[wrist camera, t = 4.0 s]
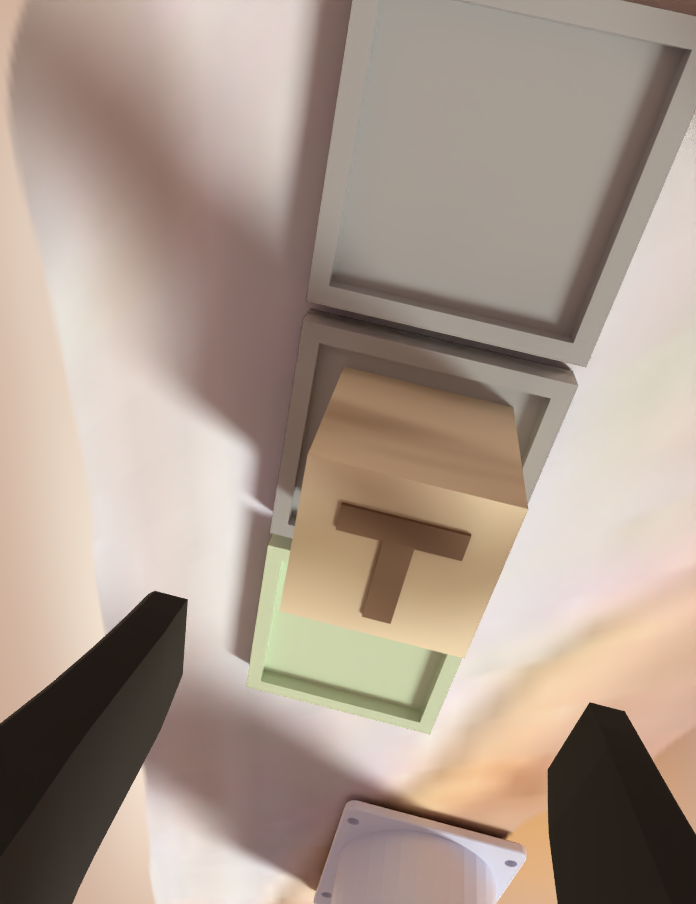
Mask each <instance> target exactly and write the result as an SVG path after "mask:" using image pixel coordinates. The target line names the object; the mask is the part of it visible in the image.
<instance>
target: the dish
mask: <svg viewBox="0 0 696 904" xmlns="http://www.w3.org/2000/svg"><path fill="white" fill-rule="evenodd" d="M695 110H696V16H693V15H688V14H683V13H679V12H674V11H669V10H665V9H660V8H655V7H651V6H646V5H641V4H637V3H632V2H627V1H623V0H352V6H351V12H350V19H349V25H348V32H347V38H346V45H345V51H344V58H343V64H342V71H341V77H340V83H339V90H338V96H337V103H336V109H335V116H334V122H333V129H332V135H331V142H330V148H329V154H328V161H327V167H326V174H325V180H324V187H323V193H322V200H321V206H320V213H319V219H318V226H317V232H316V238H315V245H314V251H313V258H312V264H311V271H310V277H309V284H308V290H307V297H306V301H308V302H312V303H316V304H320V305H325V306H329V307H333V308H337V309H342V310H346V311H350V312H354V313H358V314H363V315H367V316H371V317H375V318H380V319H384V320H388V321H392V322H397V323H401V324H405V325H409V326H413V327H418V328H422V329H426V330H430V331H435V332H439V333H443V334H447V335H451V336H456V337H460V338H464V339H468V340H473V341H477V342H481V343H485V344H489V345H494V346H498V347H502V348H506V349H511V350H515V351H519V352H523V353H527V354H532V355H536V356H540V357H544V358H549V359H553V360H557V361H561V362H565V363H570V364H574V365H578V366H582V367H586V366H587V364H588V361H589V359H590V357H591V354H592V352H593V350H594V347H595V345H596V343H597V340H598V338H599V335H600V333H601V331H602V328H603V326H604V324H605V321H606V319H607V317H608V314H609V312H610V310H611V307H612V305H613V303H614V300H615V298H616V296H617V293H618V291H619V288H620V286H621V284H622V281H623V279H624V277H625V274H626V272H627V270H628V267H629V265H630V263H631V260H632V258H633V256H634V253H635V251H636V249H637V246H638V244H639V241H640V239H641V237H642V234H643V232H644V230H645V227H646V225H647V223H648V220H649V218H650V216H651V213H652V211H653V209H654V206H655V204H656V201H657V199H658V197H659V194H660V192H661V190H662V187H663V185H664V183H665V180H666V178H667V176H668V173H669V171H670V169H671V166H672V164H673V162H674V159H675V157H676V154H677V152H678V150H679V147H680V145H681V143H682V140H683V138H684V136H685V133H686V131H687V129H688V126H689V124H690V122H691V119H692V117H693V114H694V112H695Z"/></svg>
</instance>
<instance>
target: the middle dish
mask: <svg viewBox="0 0 696 904" xmlns="http://www.w3.org/2000/svg"><path fill="white" fill-rule="evenodd" d="M344 367H348V368H352V369H356V370H360V371H364V372H369V373H373V374H377V375H381V376H385V377H389V378H394V379H398V380H402V381H406V382H410V383H414V384H418V385H423V386H427V387H431V388H435V389H439V390H443V391H448V392H452V393H456V394H460V395H464V396H468V397H473V398H477V399H481V400H485V401H489V402H493V403H498V404H502V405H506V406H510V407H513V408H514V415H515V422H516V429H517V436H518V442H519V449H520V456H521V463H522V470H523V476H524V483H525V490H526V497H527V504H528V502H529V500H530V498H531V495H532V493H533V491H534V488H535V486H536V484H537V481H538V479H539V477H540V474H541V472H542V470H543V467H544V465H545V462H546V460H547V458H548V455H549V453H550V451H551V448H552V446H553V444H554V441H555V439H556V437H557V434H558V432H559V430H560V427H561V425H562V422H563V420H564V418H565V415H566V413H567V411H568V408H569V406H570V404H571V401H572V399H573V397H574V394H575V392H576V390H577V387H578V384H577V381H576V378H575V376H574V373H573V371H571V370H566V369H562V368H558V367H554V366H549V365H545V364H541V363H537V362H533V361H528V360H524V359H520V358H516V357H511V356H507V355H503V354H499V353H495V352H490V351H486V350H482V349H478V348H474V347H469V346H465V345H461V344H457V343H452V342H448V341H444V340H440V339H436V338H431V337H427V336H423V335H419V334H415V333H410V332H406V331H402V330H398V329H393V328H389V327H385V326H381V325H377V324H372V323H368V322H364V321H360V320H356V319H351V318H347V317H343V316H339V315H334V314H330V313H326V312H322V311H318V310H313V309H310V310H309V311H308V313H307V315H306V316H305V318H304V319H303V322H302V329H301V335H300V342H299V348H298V355H297V361H296V368H295V374H294V380H293V387H292V393H291V400H290V406H289V413H288V419H287V426H286V432H285V439H284V445H283V451H282V458H281V464H280V471H279V477H278V484H277V490H276V497H275V503H274V510H273V516H272V522H271V529H270V533H272V534H276V535H280V536H284V537H288V538H292V539H293V533H294V528H295V522H296V517H297V511H298V506H299V500H300V494H301V489H302V483H303V478H304V472H305V467H306V461H307V456H308V453H309V450H310V448H311V446H312V443H313V441H314V438H315V436H316V433H317V431H318V429H319V426H320V424H321V421H322V419H323V416H324V414H325V412H326V409H327V407H328V404H329V402H330V399H331V397H332V395H333V392H334V390H335V387H336V385H337V382H338V380H339V378H340V375H341V373H342V370H343V368H344Z"/></svg>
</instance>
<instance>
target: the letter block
mask: <svg viewBox="0 0 696 904" xmlns="http://www.w3.org/2000/svg"><path fill="white" fill-rule="evenodd" d="M527 511H528V504H527V497H526V490H525V483H524V476H523V470H522V463H521V456H520V449H519V442H518V436H517V429H516V422H515V415H514V408H513V407H510V406H506V405H502V404H498V403H493V402H489V401H485V400H481V399H477V398H473V397H468V396H464V395H460V394H456V393H452V392H448V391H443V390H439V389H435V388H431V387H427V386H423V385H418V384H414V383H410V382H406V381H402V380H398V379H394V378H389V377H385V376H381V375H377V374H373V373H369V372H364V371H360V370H356V369H352V368H348V367H344V368H343V370H342V373H341V375H340V378H339V380H338V382H337V385H336V387H335V390H334V392H333V395H332V397H331V399H330V402H329V404H328V407H327V409H326V412H325V414H324V416H323V419H322V421H321V424H320V426H319V429H318V431H317V433H316V436H315V438H314V441H313V443H312V446H311V448H310V450H309V453H308V456H307V461H306V467H305V472H304V478H303V483H302V489H301V494H300V500H299V506H298V511H297V517H296V522H295V528H294V533H293V539H292V544H291V550H290V555H289V561H288V566H287V572H286V577H285V583H284V588H283V594H282V599H281V605H280V612H284V613H288V614H292V615H296V616H300V617H304V618H308V619H312V620H316V621H320V622H323V623H327V624H331V625H335V626H339V627H343V628H347V629H351V630H355V631H359V632H363V633H366V634H370V635H374V636H378V637H382V638H386V639H390V640H394V641H398V642H402V643H406V644H409V645H413V646H417V647H421V648H425V649H429V650H433V651H437V652H441V653H445V654H449V655H453V656H456V657H460V658H465V656H466V653H467V651H468V649H469V646H470V644H471V642H472V639H473V637H474V635H475V632H476V630H477V628H478V625H479V623H480V621H481V618H482V616H483V614H484V611H485V609H486V607H487V604H488V602H489V600H490V597H491V595H492V593H493V590H494V588H495V586H496V583H497V581H498V579H499V576H500V574H501V572H502V569H503V567H504V565H505V562H506V560H507V558H508V555H509V553H510V551H511V548H512V546H513V544H514V541H515V539H516V537H517V534H518V532H519V530H520V527H521V525H522V523H523V520H524V518H525V516H526V513H527Z"/></svg>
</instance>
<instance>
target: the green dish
mask: <svg viewBox="0 0 696 904" xmlns="http://www.w3.org/2000/svg"><path fill="white" fill-rule="evenodd" d="M291 544H292V538H288V537H284V536H280V535H276V534H272V537H271V539H270V541H269V544H268V548H267V555H266V561H265V568H264V574H263V581H262V587H261V593H260V600H259V606H258V613H257V619H256V626H255V632H254V639H253V645H252V652H251V658H250V664H249V671H248V677H247V684H246V687H250V688H254V689H258V690H262V691H265V692H269V693H273V694H277V695H281V696H285V697H288V698H292V699H296V700H300V701H304V702H308V703H311V704H315V705H319V706H323V707H327V708H331V709H334V710H338V711H342V712H346V713H350V714H354V715H357V716H361V717H365V718H369V719H373V720H377V721H380V722H384V723H388V724H392V725H396V726H400V727H403V728H407V729H411V730H415V731H419V732H423V733H426V734H430V733H431V730H432V728H433V726H434V723H435V721H436V719H437V716H438V714H439V712H440V709H441V707H442V705H443V702H444V700H445V698H446V695H447V693H448V691H449V688H450V686H451V683H452V681H453V679H454V676H455V674H456V672H457V669H458V667H459V665H460V662H461V660H462V658H460V657H456V656H453V655H449V654H445V653H441V652H437V651H433V650H429V649H425V648H421V647H417V646H413V645H409V644H406V643H402V642H398V641H394V640H390V639H386V638H382V637H378V636H374V635H370V634H366V633H363V632H359V631H355V630H351V629H347V628H343V627H339V626H335V625H331V624H327V623H323V622H320V621H316V620H312V619H308V618H304V617H300V616H296V615H292V614H288V613H284V612H280V605H281V599H282V594H283V588H284V583H285V577H286V572H287V566H288V561H289V555H290V550H291Z"/></svg>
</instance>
